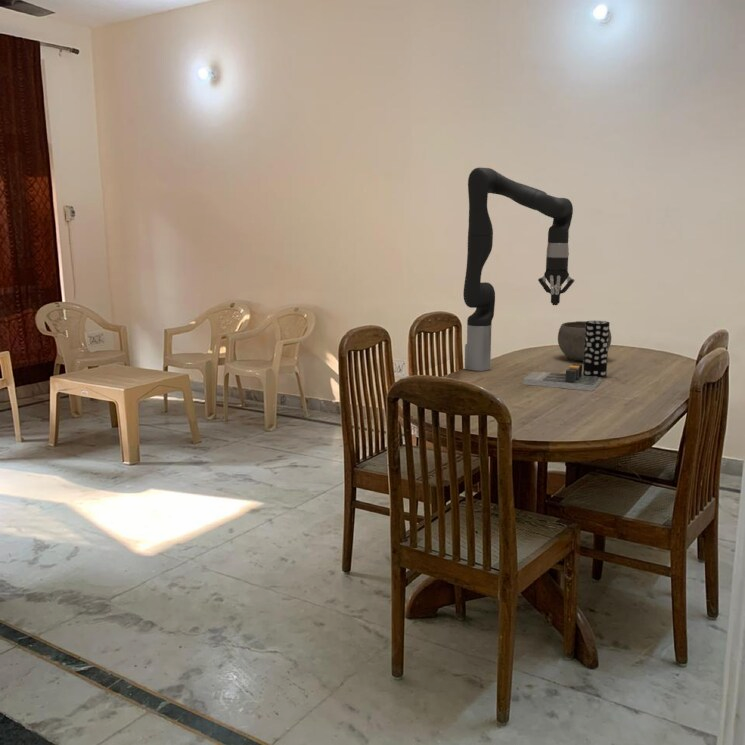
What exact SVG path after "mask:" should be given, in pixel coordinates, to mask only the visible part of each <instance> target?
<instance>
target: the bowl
mask: <svg viewBox="0 0 745 745" xmlns="http://www.w3.org/2000/svg"><path fill="white" fill-rule="evenodd" d="M585 329H586V321H584V320H583V321H580V320H579V321H577V320H576V321H567V322H563V323H562V324H561V325H560V328H559V329H558V333H557V343H558V347H559V349H560V350H561V352H562V353H563V355H565V356H566V357H567V358H569V359H570V360H572V361H577V362H584V347H585ZM611 343H612V333H611V329H610V328H609V339H608V350H609V349H610V347H611Z"/></svg>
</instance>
